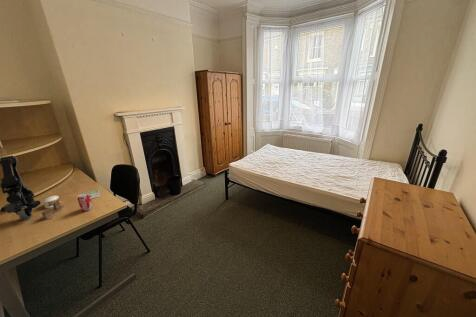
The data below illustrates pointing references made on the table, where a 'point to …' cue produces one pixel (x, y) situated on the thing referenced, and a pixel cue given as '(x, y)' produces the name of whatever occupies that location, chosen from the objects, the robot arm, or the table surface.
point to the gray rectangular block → (23, 214)
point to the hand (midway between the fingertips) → (26, 216)
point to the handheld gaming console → (93, 194)
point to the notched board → (52, 211)
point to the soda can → (84, 202)
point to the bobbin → (50, 201)
